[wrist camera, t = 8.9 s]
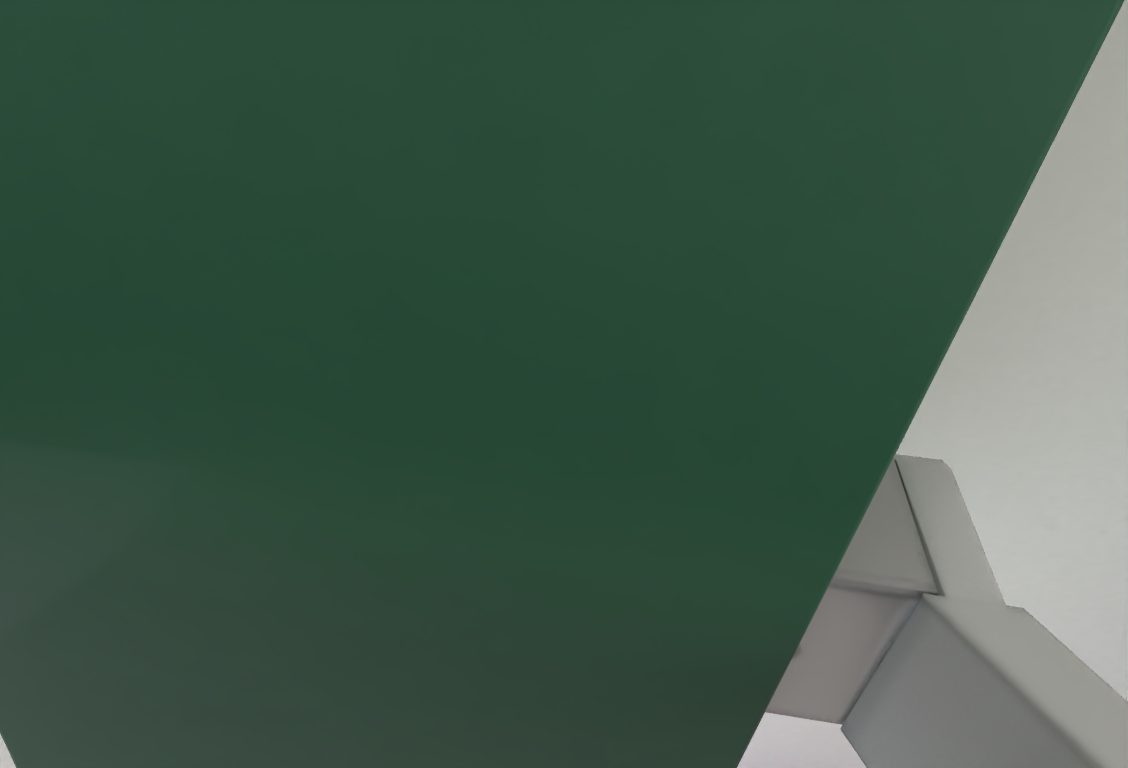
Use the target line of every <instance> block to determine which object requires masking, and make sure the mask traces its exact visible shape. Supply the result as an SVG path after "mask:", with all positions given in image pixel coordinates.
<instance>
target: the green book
mask: <svg viewBox="0 0 1128 768" xmlns="http://www.w3.org/2000/svg"><path fill="white" fill-rule="evenodd" d="M1123 2H1124V0H0V733H1V736H2V738H3V740H4V742H5V744H6V746H7V748H8V751H9V753H10V755H11V757H12V759H13V761H14V764H15V766H16V768H737V766H738V764H739V762H740V760H741V758H742V756H743V754H744V752H745V750H746V748H747V746H748V744H749V742H750V740H751V738H752V736H753V734H754V733H755V731H756V729H757V727H758V725H759V723H760V721H761V719H762V717H763V715H764V713H765V711H766V709H767V707H768V705H769V703H770V701H771V699H772V697H773V695H774V693H775V691H776V689H777V687H778V685H779V683H780V681H781V679H782V677H783V675H784V673H785V671H786V669H787V667H788V665H789V663H790V661H791V659H792V657H793V655H794V653H795V651H796V649H797V647H798V645H799V643H800V641H801V639H802V637H803V636H804V634H805V632H806V630H807V628H808V626H809V624H810V622H811V620H812V618H813V616H814V614H815V612H816V610H817V608H818V606H819V604H820V602H821V600H822V598H823V596H824V594H825V592H826V590H827V588H828V586H829V584H830V582H831V580H832V578H833V576H834V574H835V572H836V570H837V568H838V566H839V564H840V562H841V560H842V558H843V556H844V554H845V552H846V550H847V548H848V546H849V544H850V542H851V540H852V538H853V537H854V535H855V533H856V531H857V529H858V527H859V525H860V523H861V521H862V519H863V517H864V515H865V513H866V511H867V509H868V507H869V505H870V503H871V501H872V499H873V497H874V495H875V493H876V491H877V489H878V487H879V485H880V483H881V481H882V479H883V477H884V475H885V473H886V471H887V469H888V467H889V465H890V463H891V461H892V459H893V457H894V455H895V453H896V451H897V449H898V447H899V445H900V443H901V441H902V439H903V438H904V436H905V434H906V432H907V430H908V428H909V426H910V424H911V422H912V420H913V418H914V416H915V414H916V412H917V410H918V408H919V406H920V404H921V402H922V400H923V398H924V396H925V394H926V392H927V390H928V388H929V386H930V384H931V382H932V380H933V378H934V376H935V374H936V372H937V370H938V368H939V366H940V364H941V362H942V360H943V358H944V356H945V354H946V352H947V350H948V348H949V346H950V344H951V342H952V340H953V339H954V337H955V335H956V333H957V331H958V329H959V327H960V325H961V323H962V321H963V319H964V317H965V315H966V313H967V311H968V309H969V307H970V305H971V303H972V301H973V299H974V297H975V295H976V293H977V291H978V289H979V287H980V285H981V283H982V281H983V279H984V277H985V275H986V273H987V271H988V269H989V267H990V265H991V263H992V261H993V259H994V257H995V255H996V253H997V251H998V249H999V247H1000V245H1001V243H1002V241H1003V240H1004V238H1005V236H1006V234H1007V232H1008V230H1009V228H1010V226H1011V224H1012V222H1013V220H1014V218H1015V216H1016V214H1017V212H1018V210H1019V208H1020V206H1021V204H1022V202H1023V200H1024V198H1025V196H1026V194H1027V192H1028V190H1029V188H1030V186H1031V184H1032V182H1033V180H1034V178H1035V176H1036V174H1037V172H1038V170H1039V168H1040V166H1041V164H1042V162H1043V160H1044V158H1045V156H1046V154H1047V152H1048V150H1049V148H1050V146H1051V144H1052V142H1053V141H1054V139H1055V137H1056V135H1057V133H1058V131H1059V129H1060V127H1061V125H1062V123H1063V121H1064V119H1065V117H1066V115H1067V113H1068V111H1069V109H1070V107H1071V105H1072V103H1073V101H1074V99H1075V97H1076V95H1077V93H1078V91H1079V89H1080V87H1081V85H1082V83H1083V81H1084V79H1085V77H1086V75H1087V73H1088V71H1089V69H1090V67H1091V65H1092V63H1093V61H1094V59H1095V57H1096V55H1097V53H1098V51H1099V49H1100V47H1101V45H1102V43H1103V42H1104V40H1105V38H1106V36H1107V34H1108V32H1109V30H1110V28H1111V26H1112V24H1113V22H1114V20H1115V18H1116V16H1117V14H1118V12H1119V10H1120V8H1121V6H1122V4H1123Z"/></svg>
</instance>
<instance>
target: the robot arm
mask: <svg viewBox="0 0 1128 768" xmlns="http://www.w3.org/2000/svg"><path fill="white" fill-rule="evenodd" d="M765 712H768V713H774V714H781V715H787V716H793V717H799V718H805V719H811V720H818V721H824V722H830V723H836V724H842V727H841V731H842V732H843V733H844V735H845V736H846V738H847V739H848V741H849V742H850V744H851V745H852V747H853V748H854V750H855V751H856V752H857V754H858V755H859V757H860V758H861V760H862V761H863V763H864V764H865V766H866V767H867V768H1128V702H1127V701H1126V700H1125V699H1124V698H1123V697H1122V696H1120V695H1119V694H1118V693H1117V692H1116V691H1115V690H1114V689H1113V688H1112V687H1110V686H1109V685H1108V684H1107V683H1106V682H1105V681H1104V680H1103V679H1102V678H1100V677H1099V676H1098V675H1097V674H1096V673H1095V672H1094V671H1093V670H1092V669H1090V668H1089V667H1088V666H1087V665H1086V664H1085V663H1084V662H1083V661H1082V660H1080V659H1079V658H1078V657H1077V656H1076V655H1075V654H1074V653H1073V652H1072V651H1070V650H1069V649H1068V648H1067V647H1066V646H1065V645H1064V644H1063V643H1062V642H1060V641H1059V640H1058V639H1057V638H1056V637H1055V636H1054V635H1053V634H1052V633H1050V632H1049V631H1048V630H1047V629H1046V628H1045V627H1044V626H1043V625H1042V624H1040V623H1039V622H1038V621H1037V620H1036V619H1035V618H1034V617H1033V616H1032V615H1030V614H1029V613H1028V612H1027V611H1026V610H1025V609H1024V608H1018V607H1011V606H1006V604H1005V602H1004V599H1003V597H1002V594H1001V592H1000V589H999V587H998V584H997V582H996V579H995V577H994V574H993V572H992V569H991V567H990V564H989V562H988V559H987V557H986V554H985V552H984V549H983V547H982V544H981V542H980V539H979V537H978V534H977V532H976V529H975V527H974V524H973V522H972V520H971V517H970V515H969V512H968V510H967V507H966V505H965V502H964V500H963V497H962V495H961V492H960V490H959V487H958V485H957V482H956V480H955V477H954V475H953V472H952V470H951V468H950V467H949V466H948V465H946V464H945V463H944V462H943V461H942V460H937V459H929V458H921V457H913V456H905V455H897V454H895V455H894V457H893V459H892V461H891V463H890V465H889V467H888V469H887V471H886V473H885V475H884V477H883V479H882V481H881V483H880V485H879V487H878V489H877V491H876V493H875V495H874V497H873V499H872V501H871V503H870V505H869V507H868V509H867V511H866V513H865V515H864V517H863V519H862V521H861V523H860V525H859V527H858V529H857V531H856V533H855V535H854V537H853V538H852V540H851V542H850V544H849V546H848V548H847V550H846V552H845V554H844V556H843V558H842V560H841V562H840V564H839V566H838V568H837V570H836V572H835V574H834V576H833V578H832V580H831V582H830V584H829V586H828V588H827V590H826V592H825V594H824V596H823V598H822V600H821V602H820V604H819V606H818V608H817V610H816V612H815V614H814V616H813V618H812V620H811V622H810V624H809V626H808V628H807V630H806V632H805V634H804V636H803V637H802V639H801V641H800V643H799V645H798V647H797V649H796V651H795V653H794V655H793V657H792V659H791V661H790V663H789V665H788V667H787V669H786V671H785V673H784V675H783V677H782V679H781V681H780V683H779V685H778V687H777V689H776V691H775V693H774V695H773V697H772V699H771V701H770V703H769V705H768V707H767V709H766V711H765Z"/></svg>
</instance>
